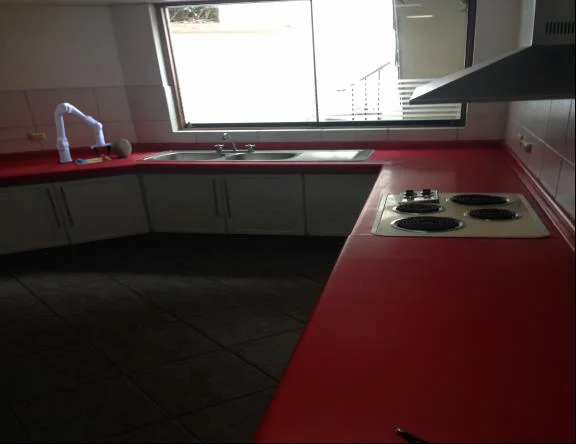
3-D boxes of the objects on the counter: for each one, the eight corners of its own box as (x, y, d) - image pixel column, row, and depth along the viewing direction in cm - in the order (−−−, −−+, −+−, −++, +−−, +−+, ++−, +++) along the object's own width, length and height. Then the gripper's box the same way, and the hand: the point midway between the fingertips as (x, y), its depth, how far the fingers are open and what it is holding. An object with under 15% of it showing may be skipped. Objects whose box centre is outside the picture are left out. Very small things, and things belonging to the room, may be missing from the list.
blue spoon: (84, 163, 311) (83, 159, 310) (78, 163, 309) (77, 160, 308) (82, 160, 320) (81, 157, 319) (76, 161, 318) (75, 158, 317)
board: (74, 161, 319) (74, 161, 319) (107, 156, 331) (107, 156, 331) (77, 165, 306) (77, 164, 306) (112, 160, 318) (111, 159, 318)
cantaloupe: (114, 157, 329) (110, 138, 323) (133, 155, 332) (129, 136, 327) (113, 160, 316) (109, 141, 311) (132, 158, 320) (129, 139, 314)
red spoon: (100, 158, 326) (99, 154, 325) (105, 157, 328) (104, 154, 327) (103, 160, 317) (102, 157, 316) (108, 159, 319) (107, 156, 318)
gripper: (90, 140, 311) (94, 158, 316) (110, 138, 319) (114, 155, 324) (88, 139, 317) (92, 157, 322) (108, 137, 324) (112, 154, 329)
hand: (103, 156), depth 323 cm, fingers open, 7 cm apart
